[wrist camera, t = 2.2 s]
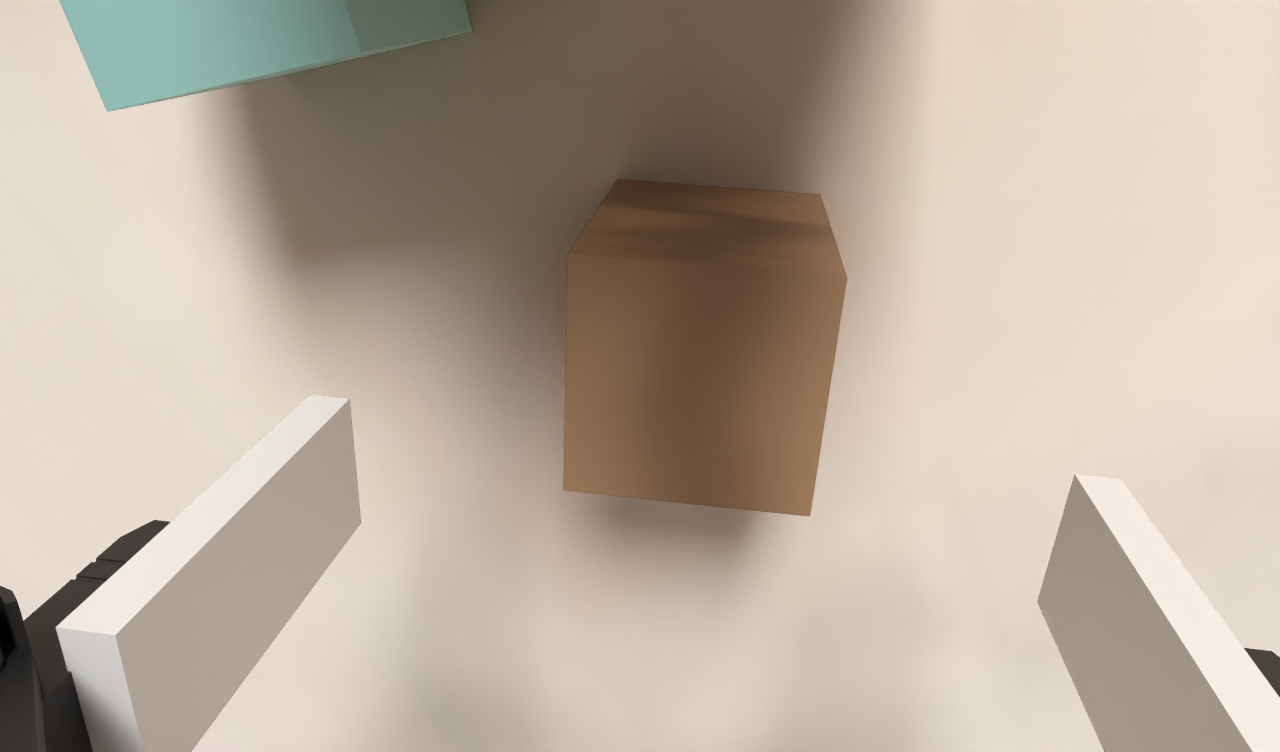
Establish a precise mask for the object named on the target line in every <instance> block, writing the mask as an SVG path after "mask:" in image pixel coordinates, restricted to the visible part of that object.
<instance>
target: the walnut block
mask: <svg viewBox="0 0 1280 752" xmlns="http://www.w3.org/2000/svg"><path fill="white" fill-rule="evenodd" d="M846 280H847V276H846V273H845V270H844V267H843V264H842V261H841V258H840V254H839V251H838V248H837V245H836V242H835V239H834V236H833V233H832V230H831V227H830V223H829V220H828V217H827V214H826V211H825V208H824V205H823V202H822V199H821V196H820V194H807V193H794V192H780V191H767V190H754V189H741V188H727V187H714V186H701V185H688V184H674V183H661V182H648V181H635V180H622V179H618V180H617V181H616V183H615V184H614V186H613V187H612V189H611V190H610V192H609V193H608V194H607V196H606V197H605V199H604V200H603V202H602V203H601V205H600V206H599V208H598V209H597V211H596V212H595V214H594V215H593V217H592V218H591V220H590V221H589V223H588V224H587V226H586V227H585V229H584V230H583V232H582V233H581V235H580V236H579V238H578V239H577V241H576V242H575V244H574V245H573V247H572V248H571V250H570V251H569V253H568V260H567V316H566V373H565V430H564V486H563V490H565V491H574V492H583V493H593V494H602V495H612V496H621V497H631V498H640V499H650V500H659V501H669V502H678V503H688V504H697V505H707V506H716V507H726V508H735V509H744V510H754V511H763V512H773V513H782V514H792V515H801V516H810V513H811V506H812V500H813V493H814V487H815V480H816V474H817V467H818V461H819V454H820V448H821V441H822V435H823V429H824V422H825V416H826V409H827V403H828V396H829V390H830V383H831V377H832V370H833V364H834V358H835V351H836V345H837V338H838V332H839V325H840V319H841V312H842V306H843V299H844V293H845V286H846Z"/></svg>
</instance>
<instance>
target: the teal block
mask: <svg viewBox="0 0 1280 752" xmlns="http://www.w3.org/2000/svg"><path fill="white" fill-rule="evenodd" d="M59 1H60V3H61V5H62V8H63V10H64V12H65V15H66V17H67V19H68V22H69V24H70V26H71V29H72V31H73V33H74V36H75V38H76V40H77V43H78V45H79V47H80V50H81V52H82V54H83V57H84V59H85V61H86V64H87V66H88V68H89V71H90V73H91V75H92V78H93V80H94V82H95V85H96V87H97V89H98V91H99V94H100V96H101V98H102V101H103V103H104V105H105V108H106V110H107V112H109V111H114V110H119V109H124V108H128V107H133V106H138V105H143V104H148V103H153V102H158V101H162V100H167V99H172V98H177V97H182V96H187V95H192V94H196V93H201V92H206V91H211V90H216V89H221V88H226V87H231V86H235V85H240V84H245V83H250V82H255V81H260V80H265V79H269V78H274V77H279V76H284V75H288V74H293V73H297V72H301V71H305V70H310V69H314V68H318V67H323V66H327V65H331V64H336V63H340V62H344V61H348V60H353V59H357V58H361V57H366V56H370V55H374V54H378V53H383V52H387V51H391V50H396V49H400V48H404V47H409V46H413V45H417V44H421V43H426V42H430V41H434V40H439V39H443V38H447V37H451V36H456V35H460V34H464V33H469V32H473V30H472V26H471V22H470V19H469V15H468V11H467V7H466V4H465V0H59Z"/></svg>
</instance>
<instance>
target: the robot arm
mask: <svg viewBox="0 0 1280 752" xmlns="http://www.w3.org/2000/svg"><path fill="white" fill-rule="evenodd" d="M360 523H361V516H360V505H359V494H358V483H357V473H356V462H355V451H354V440H353V429H352V419H351V408H350V399H348V398H338V397H329V396H319V395H310V396H309V397H307V398H306V399H305V400H304V401H303V402H302V403H301V404H300V405H299V406H298V407H296V408H295V409H294V410H293V411H292V412H291V413H290V414H289V415H288V416H287V417H285V418H284V419H283V420H282V421H281V422H280V423H279V424H278V425H277V426H276V427H275V428H273V429H272V430H271V431H270V432H269V433H268V434H267V435H266V436H265V437H264V438H262V439H261V440H260V441H259V442H258V443H257V444H256V445H255V446H254V447H253V448H252V449H250V450H249V451H248V452H247V453H246V454H245V455H244V456H243V457H242V458H241V459H239V460H238V461H237V462H236V463H235V464H234V465H233V466H232V467H231V468H230V469H228V470H227V471H226V472H225V473H224V474H223V475H222V476H221V477H220V478H219V479H218V480H216V481H215V482H214V483H213V484H212V485H211V486H210V487H209V488H208V489H207V490H205V491H204V492H203V493H202V494H201V495H200V496H199V497H198V498H197V499H196V500H194V501H193V502H192V503H191V504H190V505H189V506H188V507H187V508H186V509H185V510H184V511H182V512H181V513H180V514H179V515H178V516H177V517H176V518H175V519H174V520H173V521H171V522H167V521H158V520H153V521H151V522H149V523H147V524H145V525H143V526H141V527H139V528H138V529H136V530H134V531H132V532H130V533H128V534H126V535H124V536H122V537H120V538H119V539H118V540H117V541H116V542H114V543H113V544H112V545H111V546H110V547H109V548H107V549H106V550H105V551H104V552H103V553H102V554H100V555H99V556H98V557H97V558H96V562H91V563H90V564H89V565H88V566H87V567H85V568H84V569H83V570H82V571H81V572H80V573H79V574H77V577H76V579H75V580H70V581H69V582H68V583H67V584H66V585H65V586H63V587H62V588H61V589H60V590H59V591H58V592H57V593H55V594H54V595H53V596H52V597H51V598H50V599H48V600H47V601H46V602H45V603H44V604H43V605H41V606H40V607H39V608H38V609H37V610H36V611H35V612H33V613H32V614H31V615H30V616H29V617H28V618H26V619H25V620H24V621H23V619H22V615H21V612H20V609H19V605H18V602H17V599H16V598H15V596H14V594H13V592H12V591H11V590H9V589H7V588H4V587H2V586H0V752H191V751H192V750H193V748H194V747H195V746H196V744H197V743H198V742H199V740H200V739H201V738H202V736H203V735H204V734H205V732H206V731H207V730H208V728H209V727H210V725H211V724H212V723H213V721H214V720H215V719H216V717H217V716H218V715H219V713H220V712H221V711H222V709H223V708H224V707H225V705H226V704H227V703H228V701H229V700H230V699H231V697H232V696H233V694H234V693H235V692H236V690H237V689H238V688H239V686H240V685H241V684H242V682H243V681H244V680H245V678H246V677H247V676H248V674H249V673H250V672H251V670H252V669H253V668H254V666H255V665H256V663H257V662H258V661H259V659H260V658H261V657H262V655H263V654H264V653H265V651H266V650H267V649H268V647H269V646H270V645H271V643H272V642H273V641H274V639H275V638H276V637H277V635H278V634H279V632H280V631H281V630H282V628H283V627H284V626H285V624H286V623H287V622H288V620H289V619H290V618H291V616H292V615H293V614H294V612H295V611H296V610H297V608H298V607H299V606H300V604H301V603H302V601H303V600H304V599H305V597H306V596H307V595H308V593H309V592H310V591H311V589H312V588H313V587H314V585H315V584H316V583H317V581H318V580H319V579H320V577H321V576H322V575H323V573H324V572H325V570H326V569H327V568H328V566H329V565H330V564H331V562H332V561H333V560H334V558H335V557H336V556H337V554H338V553H339V552H340V550H341V549H342V548H343V546H344V545H345V544H346V542H347V541H348V539H349V538H350V537H351V535H352V534H353V533H354V531H355V530H356V529H357V527H358V526H359V525H360ZM1037 602H1038V605H1039V607H1040V609H1041V611H1042V614H1043V616H1044V618H1045V620H1046V622H1047V625H1048V627H1049V629H1050V631H1051V634H1052V636H1053V638H1054V640H1055V643H1056V645H1057V647H1058V649H1059V651H1060V654H1061V656H1062V658H1063V660H1064V663H1065V665H1066V667H1067V669H1068V672H1069V674H1070V676H1071V678H1072V680H1073V683H1074V685H1075V687H1076V689H1077V692H1078V694H1079V696H1080V698H1081V701H1082V703H1083V705H1084V707H1085V709H1086V712H1087V714H1088V716H1089V718H1090V721H1091V723H1092V725H1093V727H1094V730H1095V732H1096V734H1097V736H1098V738H1099V741H1100V743H1101V745H1102V747H1103V750H1104V752H1280V657H1278V656H1277V655H1276V654H1275V653H1273V652H1272V651H1265V650H1256V649H1248V648H1243V646H1242V645H1241V644H1240V642H1239V641H1238V640H1237V638H1236V637H1235V635H1234V634H1233V633H1232V631H1231V630H1230V629H1229V627H1228V626H1227V624H1226V623H1225V622H1224V620H1223V619H1222V618H1221V616H1220V615H1219V613H1218V612H1217V611H1216V609H1215V608H1214V607H1213V605H1212V604H1211V603H1210V601H1209V600H1208V598H1207V597H1206V596H1205V594H1204V593H1203V592H1202V590H1201V589H1200V587H1199V586H1198V585H1197V583H1196V582H1195V581H1194V579H1193V578H1192V576H1191V575H1190V574H1189V572H1188V571H1187V570H1186V568H1185V567H1184V565H1183V564H1182V563H1181V561H1180V560H1179V559H1178V557H1177V556H1176V554H1175V553H1174V552H1173V550H1172V549H1171V548H1170V546H1169V545H1168V543H1167V542H1166V541H1165V539H1164V538H1163V537H1162V535H1161V534H1160V532H1159V531H1158V530H1157V528H1156V527H1155V526H1154V524H1153V523H1152V521H1151V520H1150V519H1149V517H1148V516H1147V515H1146V513H1145V512H1144V510H1143V509H1142V508H1141V506H1140V505H1139V504H1138V502H1137V501H1136V499H1135V498H1134V497H1133V495H1132V494H1131V493H1130V491H1129V490H1128V488H1127V487H1126V486H1125V484H1124V483H1123V482H1122V480H1121V479H1117V478H1108V477H1098V476H1088V475H1079V474H1075V475H1074V478H1073V481H1072V485H1071V488H1070V492H1069V495H1068V498H1067V502H1066V505H1065V509H1064V512H1063V516H1062V519H1061V522H1060V526H1059V529H1058V533H1057V536H1056V539H1055V543H1054V546H1053V550H1052V553H1051V556H1050V560H1049V563H1048V567H1047V570H1046V574H1045V577H1044V580H1043V584H1042V587H1041V591H1040V594H1039V597H1038V601H1037Z"/></svg>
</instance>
